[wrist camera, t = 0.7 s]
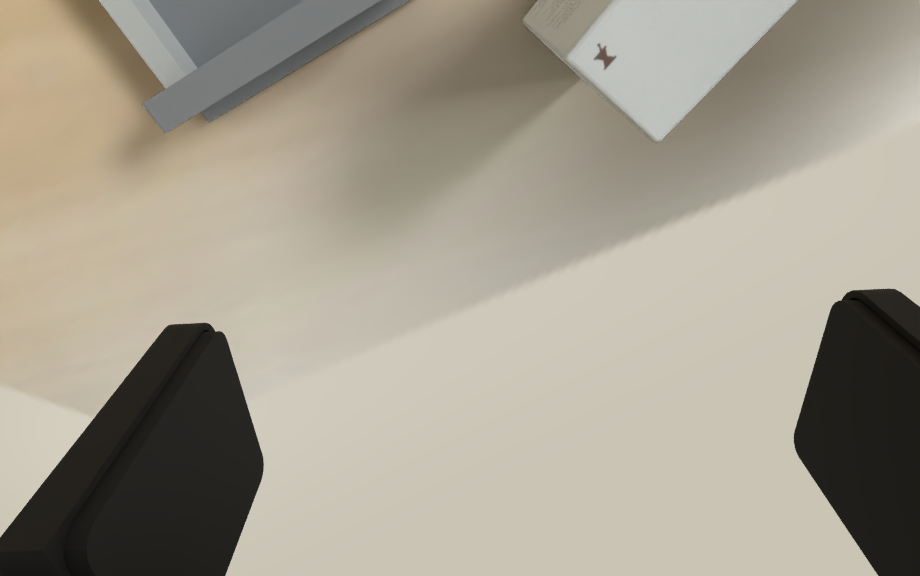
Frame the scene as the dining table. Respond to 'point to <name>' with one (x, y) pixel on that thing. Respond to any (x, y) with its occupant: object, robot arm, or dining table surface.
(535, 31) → the skincare box
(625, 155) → the dining table surface
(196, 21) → the rest
